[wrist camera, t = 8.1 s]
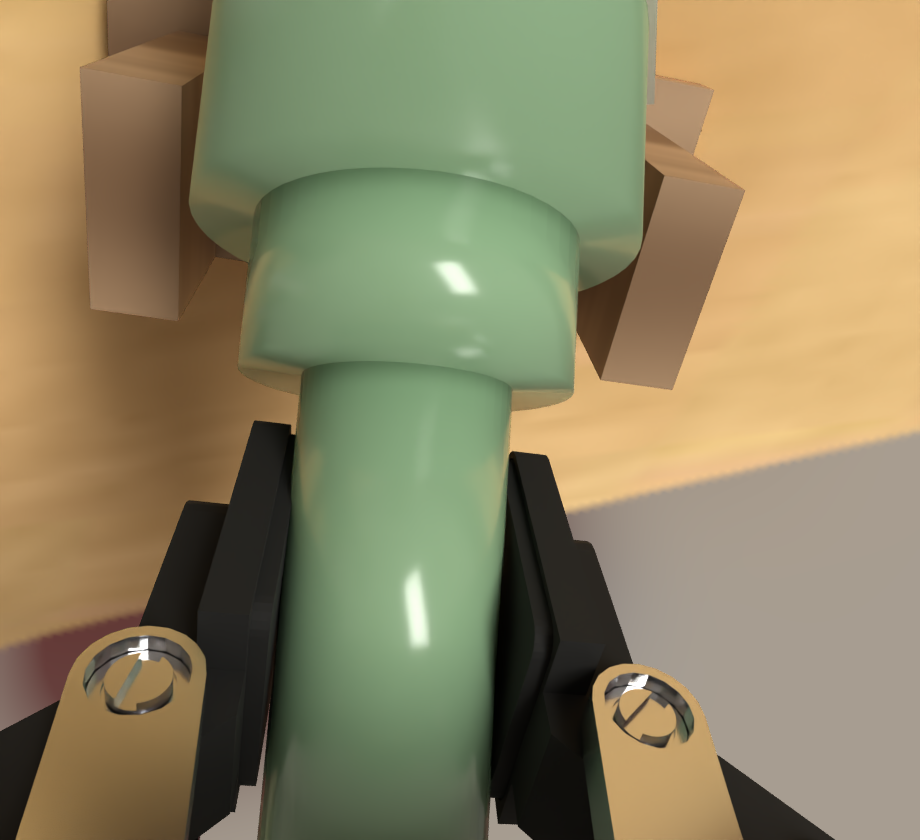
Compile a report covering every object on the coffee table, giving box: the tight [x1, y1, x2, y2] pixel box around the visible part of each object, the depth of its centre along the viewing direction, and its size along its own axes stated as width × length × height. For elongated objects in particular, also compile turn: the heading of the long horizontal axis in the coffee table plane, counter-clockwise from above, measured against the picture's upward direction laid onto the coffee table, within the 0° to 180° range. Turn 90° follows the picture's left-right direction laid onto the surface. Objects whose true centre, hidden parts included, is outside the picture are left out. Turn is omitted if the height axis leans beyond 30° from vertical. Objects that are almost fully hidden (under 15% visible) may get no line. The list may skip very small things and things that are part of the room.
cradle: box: [80, 0, 745, 390], centre depth 17 cm, size 6×14×8 cm, turn 79°
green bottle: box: [189, 0, 658, 840], centre depth 11 cm, size 6×6×21 cm
